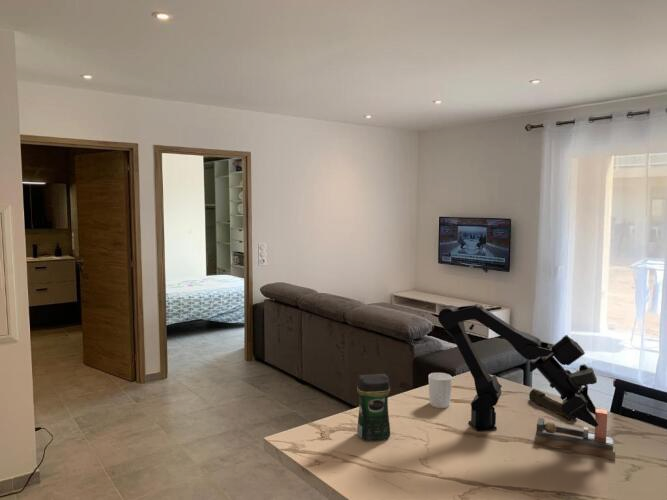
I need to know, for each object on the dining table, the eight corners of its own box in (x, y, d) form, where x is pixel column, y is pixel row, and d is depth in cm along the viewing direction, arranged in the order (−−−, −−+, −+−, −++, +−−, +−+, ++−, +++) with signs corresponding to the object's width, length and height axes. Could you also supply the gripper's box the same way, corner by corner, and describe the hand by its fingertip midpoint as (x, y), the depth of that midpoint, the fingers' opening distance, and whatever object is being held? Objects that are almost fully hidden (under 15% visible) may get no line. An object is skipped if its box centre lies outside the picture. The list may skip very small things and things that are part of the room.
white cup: (453, 409, 166) (454, 380, 165) (430, 409, 166) (430, 380, 165) (448, 400, 174) (449, 372, 173) (426, 400, 174) (426, 372, 173)
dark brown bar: (578, 420, 158) (579, 406, 158) (568, 422, 156) (569, 407, 156) (535, 399, 176) (536, 386, 175) (526, 400, 174) (527, 388, 174)
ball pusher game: (534, 443, 142) (535, 426, 141) (537, 431, 149) (538, 415, 149) (614, 459, 132) (615, 441, 132) (613, 445, 140) (614, 428, 140)
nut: (548, 436, 142) (549, 425, 141) (541, 431, 145) (542, 420, 145) (558, 435, 142) (559, 424, 142) (551, 430, 145) (552, 419, 145)
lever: (583, 441, 138) (584, 411, 137) (583, 435, 142) (584, 405, 141) (612, 447, 134) (614, 416, 134) (612, 441, 138) (613, 410, 138)
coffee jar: (385, 429, 151) (386, 369, 149) (392, 441, 143) (393, 378, 141) (354, 431, 149) (354, 371, 148) (359, 443, 141) (360, 380, 140)
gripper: (577, 367, 131) (623, 416, 126) (579, 350, 147) (620, 392, 143) (544, 390, 135) (587, 439, 131) (549, 371, 151) (588, 413, 147)
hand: (596, 419), depth 138 cm, fingers open, 9 cm apart
